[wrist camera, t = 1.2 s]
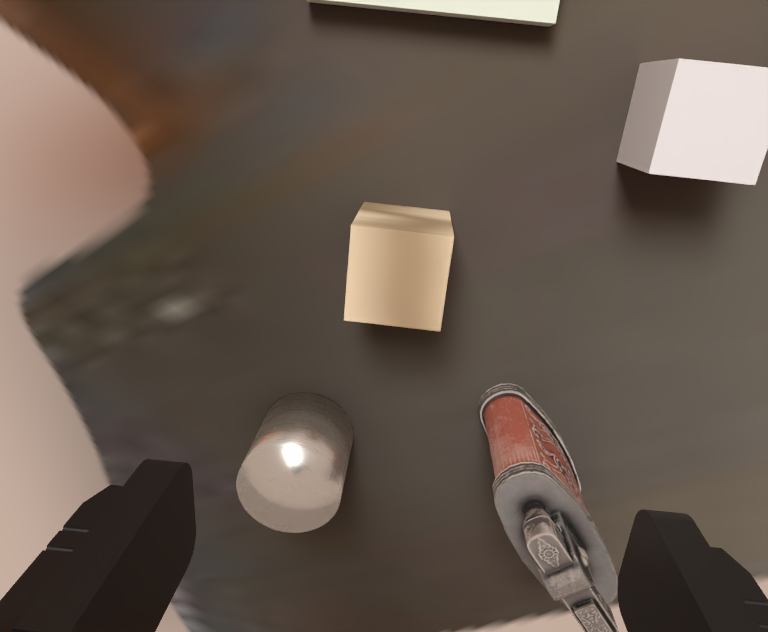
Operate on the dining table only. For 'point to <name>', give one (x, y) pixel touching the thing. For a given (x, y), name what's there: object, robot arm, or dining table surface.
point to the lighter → (547, 507)
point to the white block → (698, 121)
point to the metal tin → (297, 464)
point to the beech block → (398, 266)
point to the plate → (468, 9)
